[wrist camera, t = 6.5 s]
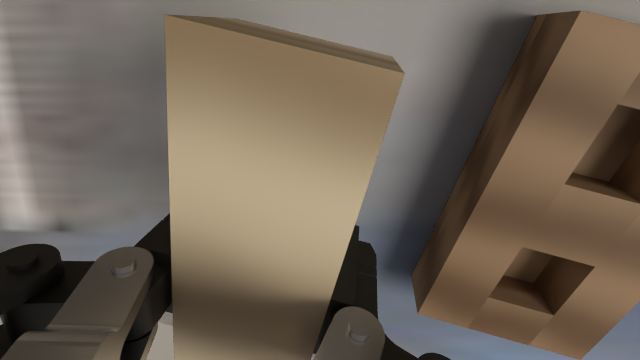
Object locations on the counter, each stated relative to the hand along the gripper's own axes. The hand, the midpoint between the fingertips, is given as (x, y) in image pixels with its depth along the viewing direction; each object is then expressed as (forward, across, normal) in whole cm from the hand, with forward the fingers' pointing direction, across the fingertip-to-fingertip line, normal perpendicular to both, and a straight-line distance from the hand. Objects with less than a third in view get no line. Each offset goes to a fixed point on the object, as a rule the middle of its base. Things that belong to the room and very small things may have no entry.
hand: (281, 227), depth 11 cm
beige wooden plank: (+4, 0, 0) cm, 4 cm away
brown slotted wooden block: (+12, -16, +1) cm, 20 cm away
